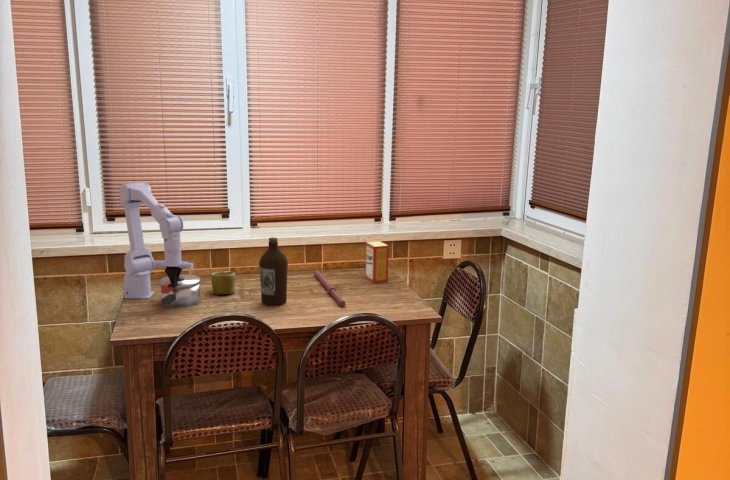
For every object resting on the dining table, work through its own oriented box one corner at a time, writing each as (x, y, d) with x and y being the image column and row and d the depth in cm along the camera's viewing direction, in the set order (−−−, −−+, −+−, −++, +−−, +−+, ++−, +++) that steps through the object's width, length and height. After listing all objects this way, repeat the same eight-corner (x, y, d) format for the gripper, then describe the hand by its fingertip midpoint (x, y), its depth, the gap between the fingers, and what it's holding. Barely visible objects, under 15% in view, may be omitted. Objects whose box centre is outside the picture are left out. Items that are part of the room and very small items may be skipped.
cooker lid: (170, 276, 250) (170, 268, 250) (206, 278, 248) (206, 270, 248) (145, 292, 230) (144, 284, 229) (184, 294, 228) (183, 286, 228)
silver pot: (172, 294, 252) (171, 277, 250) (206, 296, 250) (205, 279, 248) (147, 311, 233) (146, 292, 231) (184, 313, 230) (183, 295, 229)
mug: (232, 293, 248) (226, 268, 249) (209, 299, 251) (203, 274, 251) (246, 290, 260) (240, 266, 260) (224, 296, 263) (218, 272, 263)
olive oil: (271, 296, 252) (270, 233, 246) (293, 300, 247) (293, 237, 241) (254, 303, 243) (252, 239, 237) (276, 308, 238) (275, 242, 232)
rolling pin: (346, 307, 241) (346, 299, 241) (338, 308, 240) (338, 300, 240) (319, 275, 283) (319, 268, 282) (312, 275, 282) (312, 268, 282)
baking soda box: (364, 276, 281) (365, 241, 277) (378, 275, 283) (379, 240, 279) (373, 282, 272) (374, 246, 268) (387, 281, 275) (388, 244, 271)
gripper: (196, 249, 232) (198, 285, 235) (159, 246, 235) (161, 282, 238) (187, 253, 225) (189, 290, 228) (149, 251, 228) (151, 287, 231)
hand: (174, 286), depth 232 cm, fingers closed
